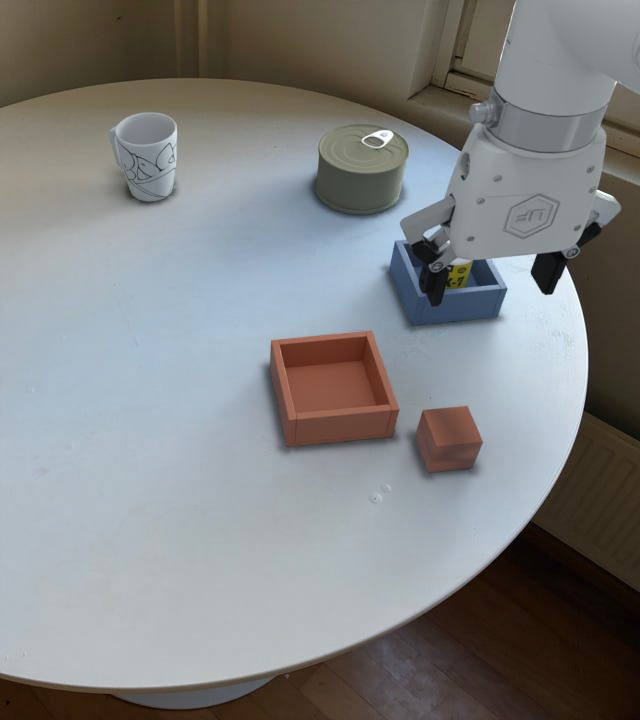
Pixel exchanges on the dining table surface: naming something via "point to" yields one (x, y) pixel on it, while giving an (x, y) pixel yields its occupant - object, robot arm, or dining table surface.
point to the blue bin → (457, 304)
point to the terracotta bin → (332, 388)
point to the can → (361, 168)
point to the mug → (146, 154)
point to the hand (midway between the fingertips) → (485, 290)
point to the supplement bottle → (457, 271)
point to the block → (448, 439)
